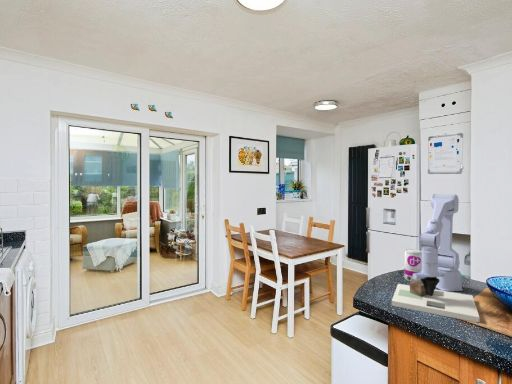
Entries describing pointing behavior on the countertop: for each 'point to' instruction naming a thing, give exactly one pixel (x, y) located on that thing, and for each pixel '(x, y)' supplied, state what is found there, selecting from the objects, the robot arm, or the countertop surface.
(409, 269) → the supplement can
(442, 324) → the countertop surface
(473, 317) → the board
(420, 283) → the walnut block
